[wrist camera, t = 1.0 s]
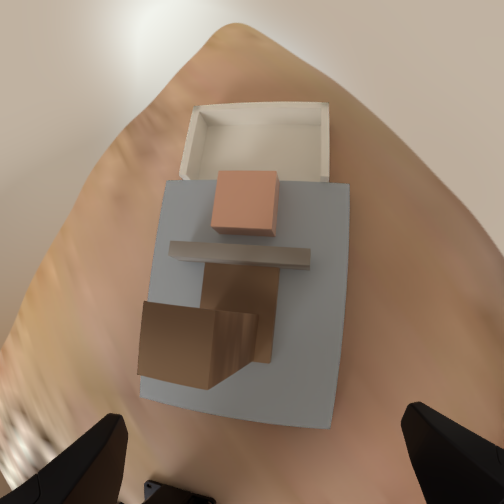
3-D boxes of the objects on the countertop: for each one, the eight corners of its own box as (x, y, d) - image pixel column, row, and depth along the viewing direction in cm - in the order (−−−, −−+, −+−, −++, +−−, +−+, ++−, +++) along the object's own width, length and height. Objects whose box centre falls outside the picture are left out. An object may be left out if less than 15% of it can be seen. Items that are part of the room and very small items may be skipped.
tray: (327, 193, 24) (329, 176, 21) (192, 189, 26) (178, 174, 23) (328, 123, 25) (328, 102, 22) (204, 124, 27) (193, 106, 24)
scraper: (301, 365, 20) (289, 404, 10) (173, 347, 22) (81, 360, 12) (310, 256, 21) (307, 204, 12) (184, 248, 23) (103, 202, 13)
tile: (275, 236, 22) (271, 229, 20) (219, 234, 23) (210, 226, 21) (279, 183, 23) (276, 171, 21) (226, 182, 23) (218, 170, 22)
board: (328, 420, 20) (330, 429, 18) (151, 392, 23) (139, 396, 21) (347, 194, 24) (349, 183, 22) (176, 189, 26) (166, 180, 25)
